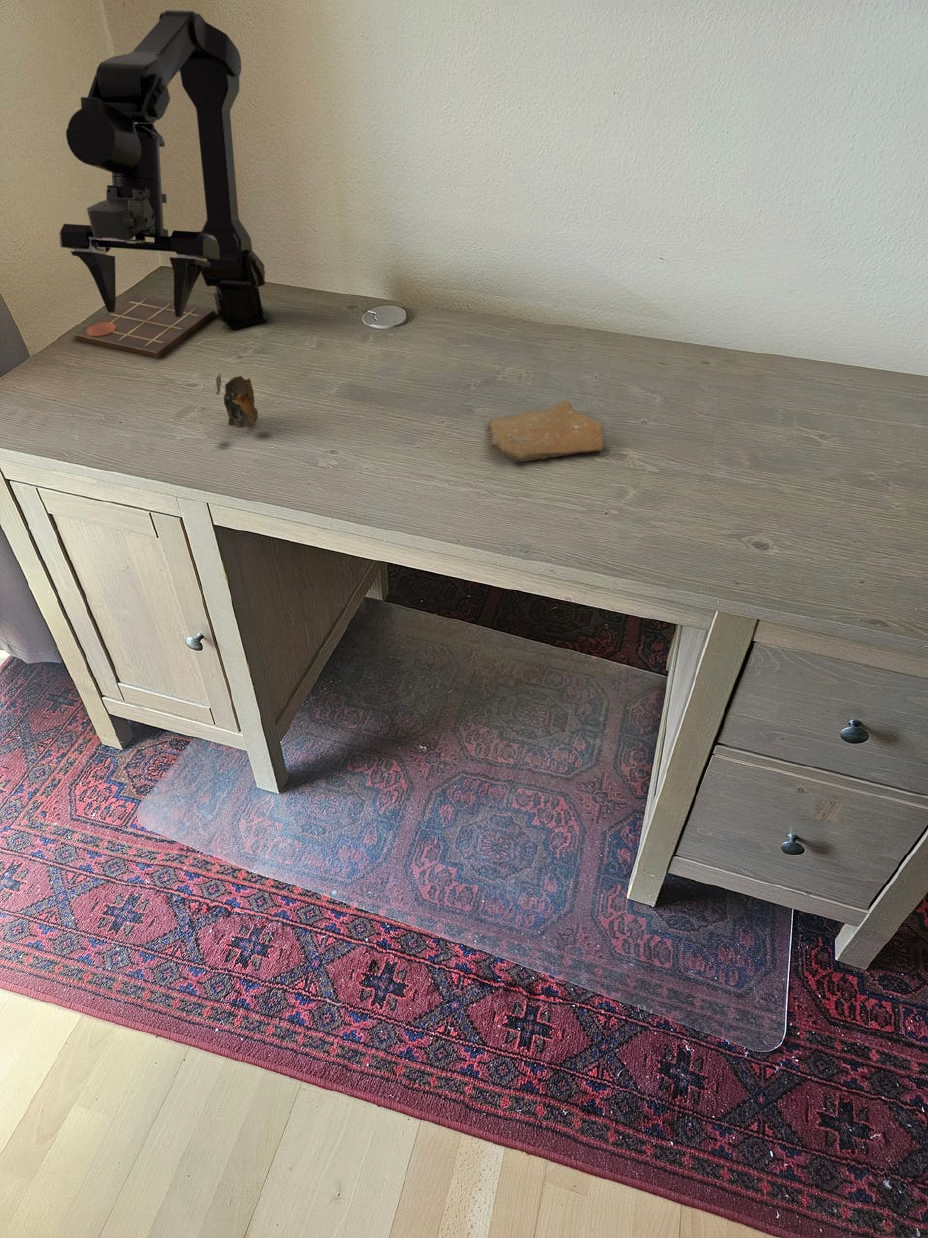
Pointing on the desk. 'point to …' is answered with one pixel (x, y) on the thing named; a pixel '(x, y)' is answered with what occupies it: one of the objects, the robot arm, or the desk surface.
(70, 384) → the desk surface
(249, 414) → the rock
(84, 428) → the desk surface
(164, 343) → the board
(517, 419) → the stone
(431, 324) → the desk surface
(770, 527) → the desk surface
